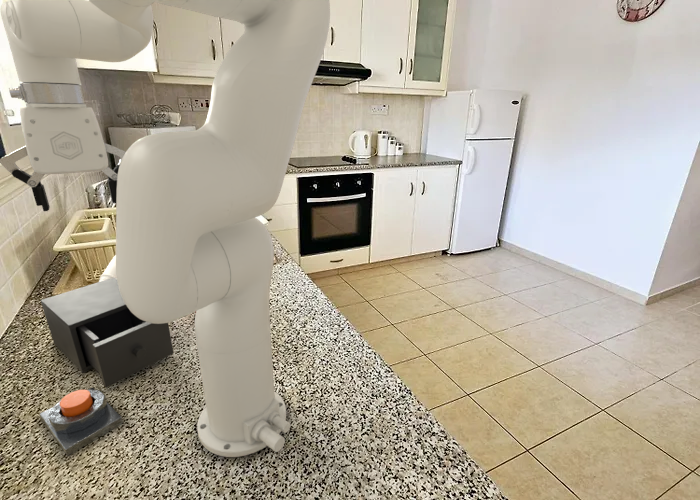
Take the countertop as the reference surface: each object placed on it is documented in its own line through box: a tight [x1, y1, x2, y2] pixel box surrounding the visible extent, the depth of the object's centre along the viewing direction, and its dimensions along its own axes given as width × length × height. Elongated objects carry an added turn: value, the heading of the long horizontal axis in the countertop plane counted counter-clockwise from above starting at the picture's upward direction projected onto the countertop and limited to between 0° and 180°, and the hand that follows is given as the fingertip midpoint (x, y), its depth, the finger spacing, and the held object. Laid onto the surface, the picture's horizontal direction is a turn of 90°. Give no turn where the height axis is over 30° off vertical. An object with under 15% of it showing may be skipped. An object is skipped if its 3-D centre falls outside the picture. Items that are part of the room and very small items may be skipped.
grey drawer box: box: [40, 278, 128, 374], centre depth 71 cm, size 14×13×10 cm
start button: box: [59, 389, 93, 417], centre depth 53 cm, size 4×4×2 cm
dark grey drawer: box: [76, 308, 174, 389], centre depth 66 cm, size 14×11×8 cm
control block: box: [39, 386, 124, 457], centre depth 54 cm, size 10×7×3 cm
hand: (82, 205), depth 64 cm, fingers open, 9 cm apart
